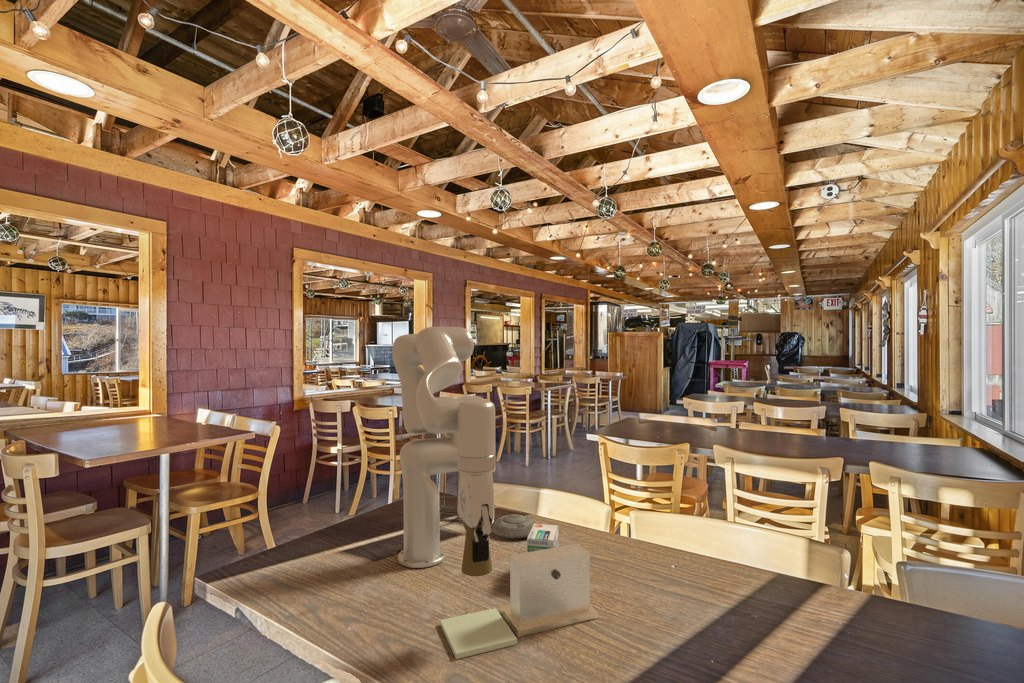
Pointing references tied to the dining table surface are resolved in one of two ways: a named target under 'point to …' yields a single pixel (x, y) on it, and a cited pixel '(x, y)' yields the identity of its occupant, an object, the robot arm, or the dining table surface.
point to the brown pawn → (468, 564)
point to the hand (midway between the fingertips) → (477, 555)
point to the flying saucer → (512, 526)
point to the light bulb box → (543, 537)
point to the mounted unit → (549, 589)
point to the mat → (477, 633)
